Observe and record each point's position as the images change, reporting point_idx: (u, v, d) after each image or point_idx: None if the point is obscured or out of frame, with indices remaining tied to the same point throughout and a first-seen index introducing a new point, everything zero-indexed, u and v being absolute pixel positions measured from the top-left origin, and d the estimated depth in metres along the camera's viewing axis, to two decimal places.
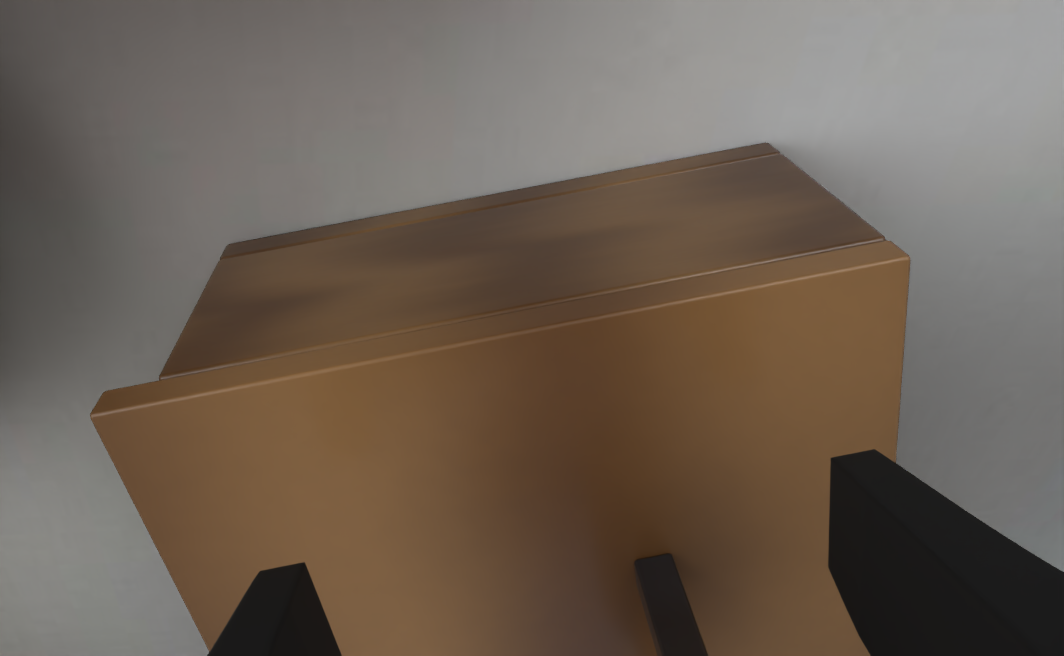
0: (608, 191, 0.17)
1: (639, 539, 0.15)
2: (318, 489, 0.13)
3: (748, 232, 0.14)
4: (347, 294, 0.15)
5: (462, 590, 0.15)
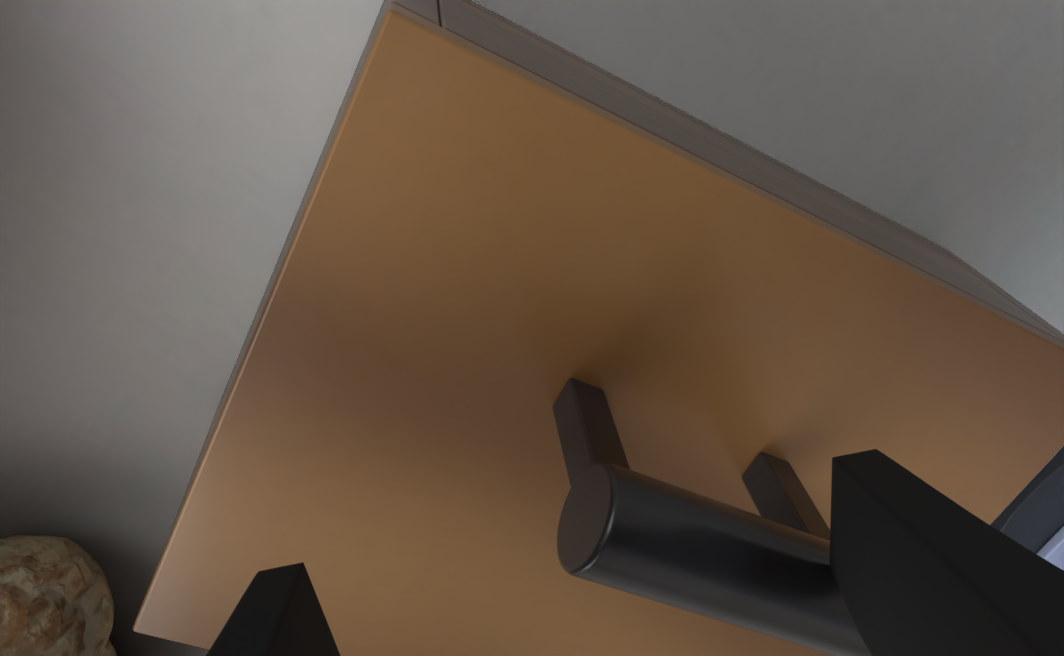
0: (324, 147, 0.17)
1: (532, 391, 0.14)
2: (292, 558, 0.15)
3: (346, 102, 0.13)
4: (218, 412, 0.17)
5: (471, 532, 0.16)
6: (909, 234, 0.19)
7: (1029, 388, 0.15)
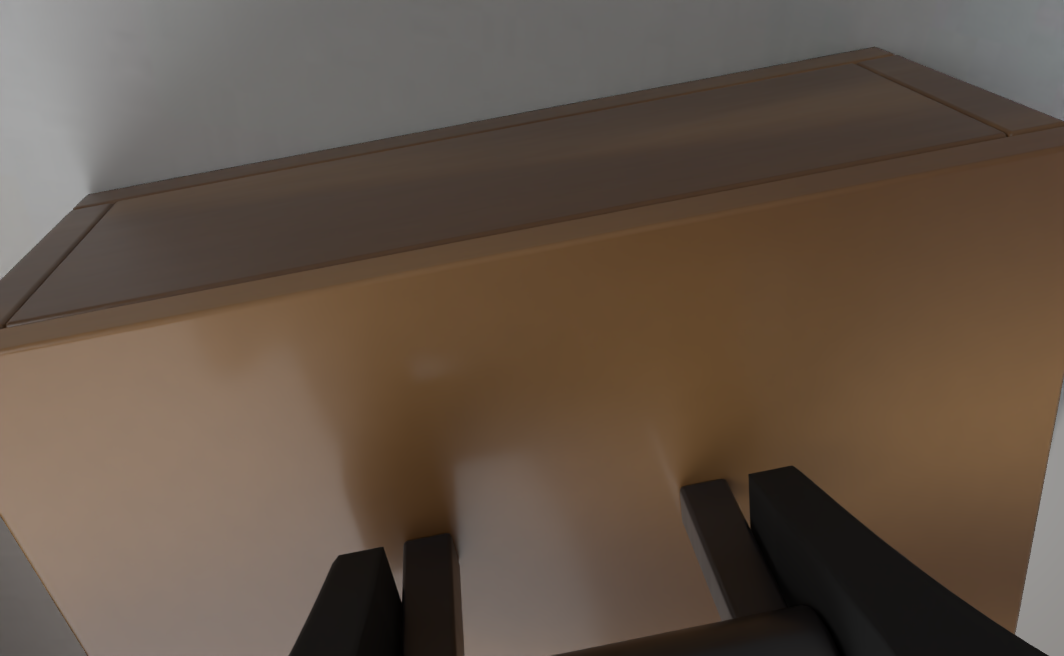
0: None
1: None
2: None
3: None
4: None
5: None
6: (791, 77, 0.15)
7: (968, 232, 0.11)
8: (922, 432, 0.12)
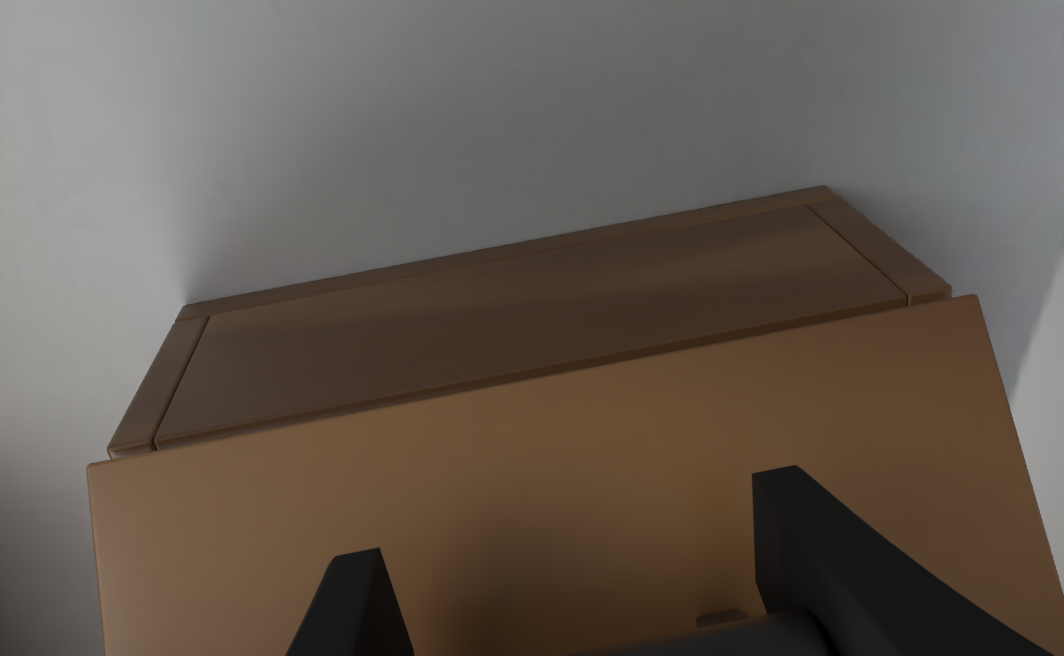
0: None
1: None
2: None
3: None
4: None
5: None
6: (753, 216, 0.18)
7: (891, 366, 0.14)
8: (921, 565, 0.13)
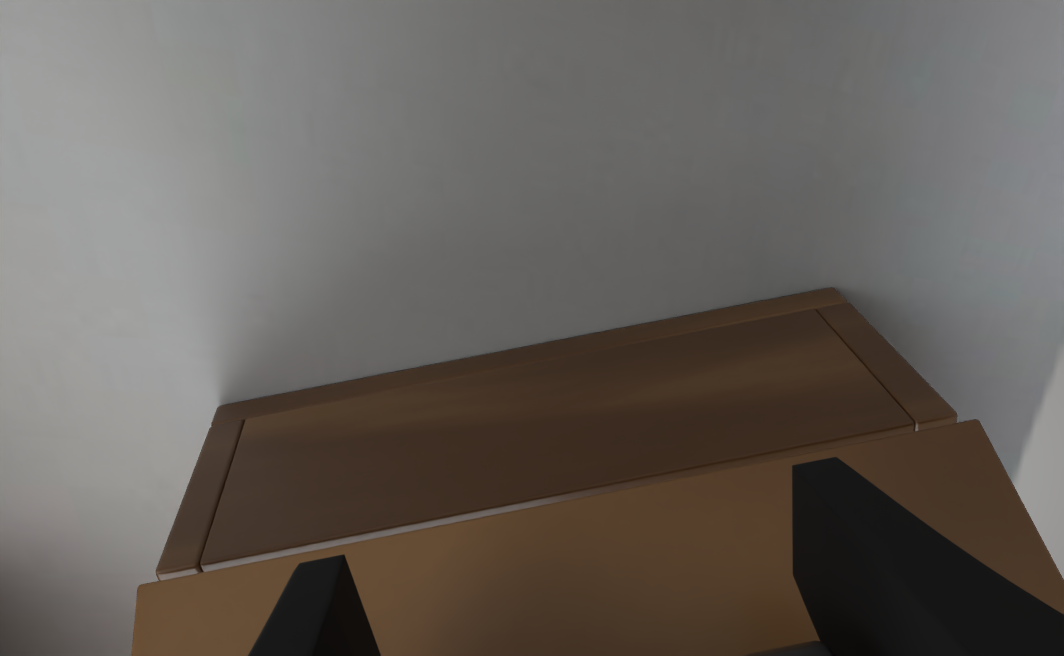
0: None
1: None
2: None
3: None
4: None
5: None
6: (766, 321, 0.19)
7: (904, 483, 0.14)
8: None
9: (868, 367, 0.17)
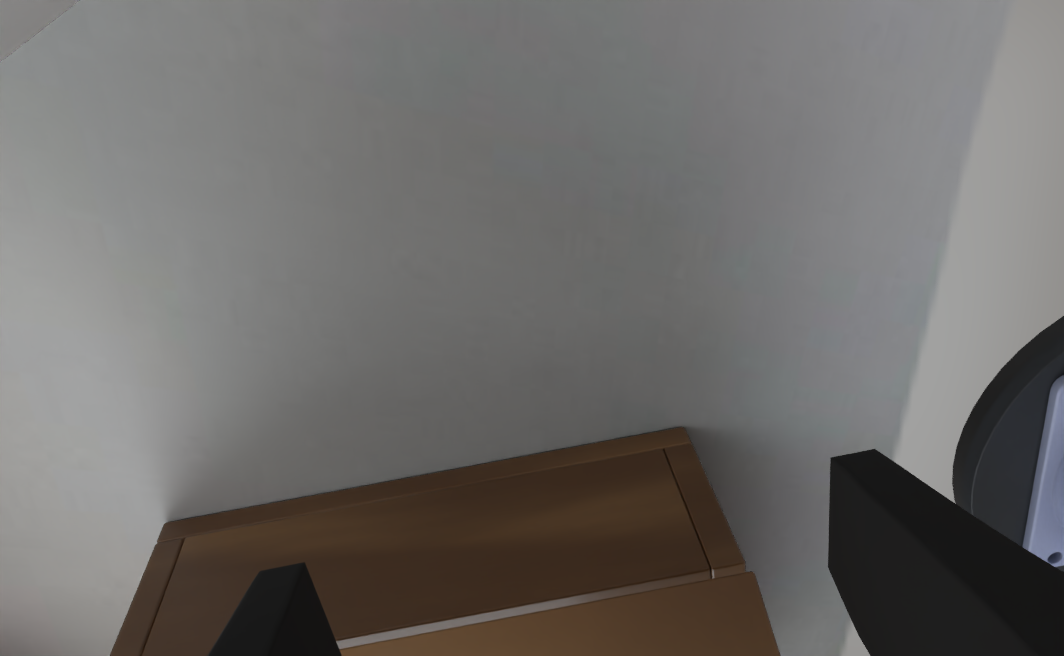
0: None
1: None
2: None
3: None
4: None
5: None
6: (620, 460, 0.23)
7: (688, 626, 0.18)
8: None
9: (689, 512, 0.20)
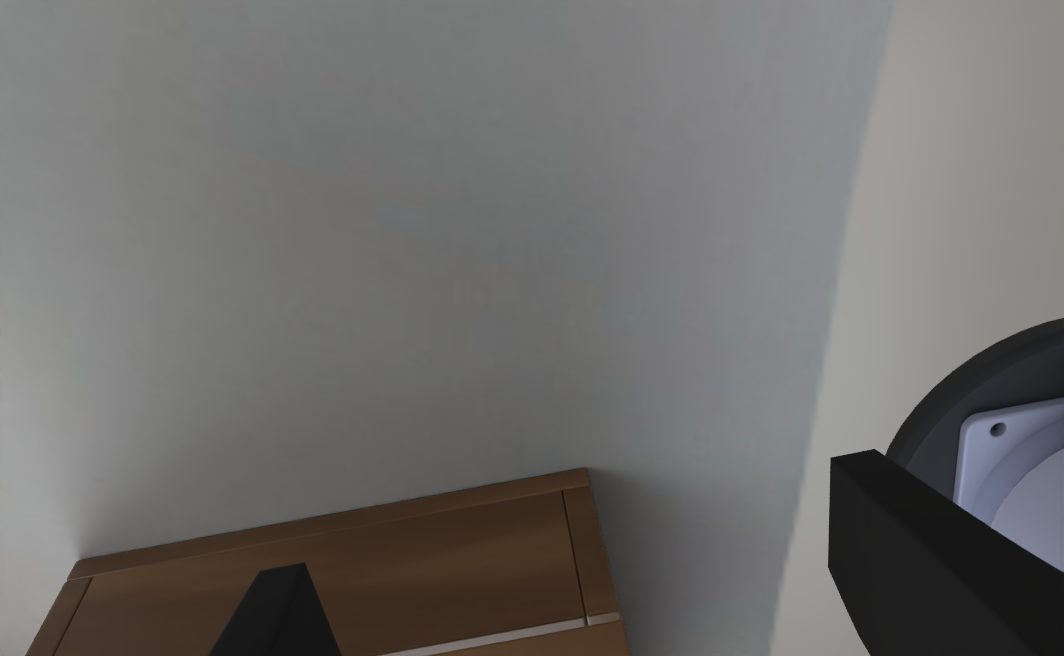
0: None
1: None
2: None
3: None
4: None
5: None
6: (519, 502, 0.23)
7: None
8: None
9: (574, 557, 0.21)
